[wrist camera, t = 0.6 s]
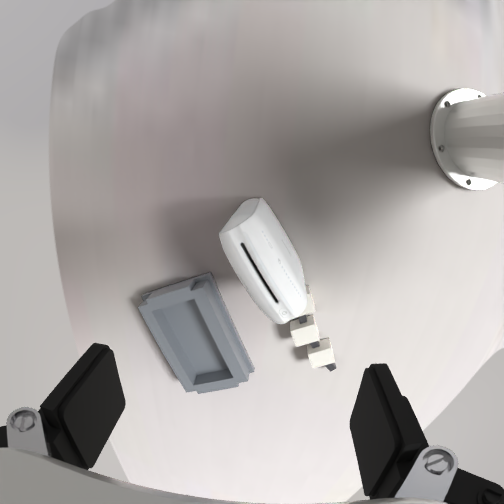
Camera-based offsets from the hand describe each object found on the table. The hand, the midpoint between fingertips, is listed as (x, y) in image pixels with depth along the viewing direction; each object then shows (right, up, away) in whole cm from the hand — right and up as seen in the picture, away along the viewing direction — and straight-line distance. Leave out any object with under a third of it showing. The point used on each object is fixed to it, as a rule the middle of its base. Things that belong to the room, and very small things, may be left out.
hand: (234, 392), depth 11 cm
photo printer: (+3, +7, +26) cm, 27 cm away
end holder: (-6, -6, +30) cm, 32 cm away
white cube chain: (+8, -5, +29) cm, 30 cm away
